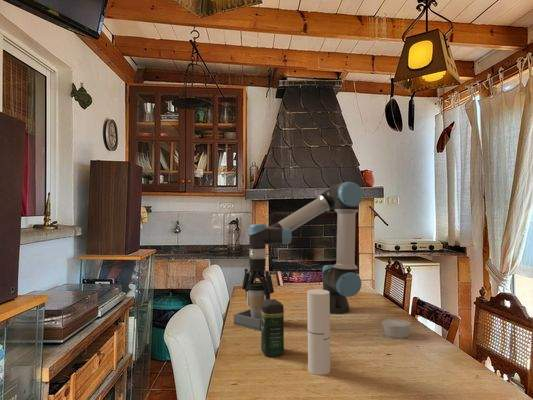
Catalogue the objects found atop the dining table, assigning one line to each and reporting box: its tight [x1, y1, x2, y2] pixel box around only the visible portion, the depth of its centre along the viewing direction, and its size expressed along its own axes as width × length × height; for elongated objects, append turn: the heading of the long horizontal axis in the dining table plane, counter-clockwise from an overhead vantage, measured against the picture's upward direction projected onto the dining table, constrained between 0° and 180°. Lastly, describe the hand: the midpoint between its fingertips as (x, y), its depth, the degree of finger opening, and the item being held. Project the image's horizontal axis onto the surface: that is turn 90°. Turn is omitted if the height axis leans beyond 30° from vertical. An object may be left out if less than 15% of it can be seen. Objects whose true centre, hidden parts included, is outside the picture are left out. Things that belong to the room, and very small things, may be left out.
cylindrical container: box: [306, 289, 331, 376], centre depth 118 cm, size 7×7×25 cm
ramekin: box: [381, 317, 412, 339], centre depth 150 cm, size 11×11×5 cm
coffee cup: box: [247, 281, 265, 319], centre depth 167 cm, size 9×9×15 cm
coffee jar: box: [260, 298, 285, 357], centre depth 133 cm, size 10×8×19 cm
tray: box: [233, 308, 261, 332], centre depth 167 cm, size 15×15×4 cm
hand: (257, 307), depth 167 cm, fingers closed on coffee cup, 9 cm apart
